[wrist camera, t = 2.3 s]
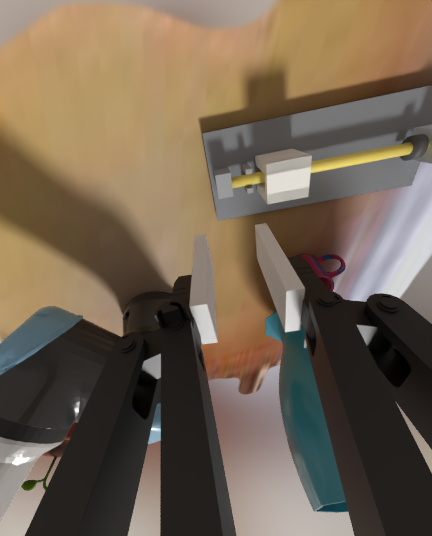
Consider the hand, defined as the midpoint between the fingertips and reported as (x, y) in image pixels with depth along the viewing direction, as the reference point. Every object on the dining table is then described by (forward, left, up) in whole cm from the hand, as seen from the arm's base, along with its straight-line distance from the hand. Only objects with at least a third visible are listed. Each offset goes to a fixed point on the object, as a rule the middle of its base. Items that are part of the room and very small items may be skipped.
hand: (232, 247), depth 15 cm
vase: (+13, -37, -21) cm, 44 cm away
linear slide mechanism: (+14, 0, -21) cm, 25 cm away
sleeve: (+8, 0, -19) cm, 20 cm away
